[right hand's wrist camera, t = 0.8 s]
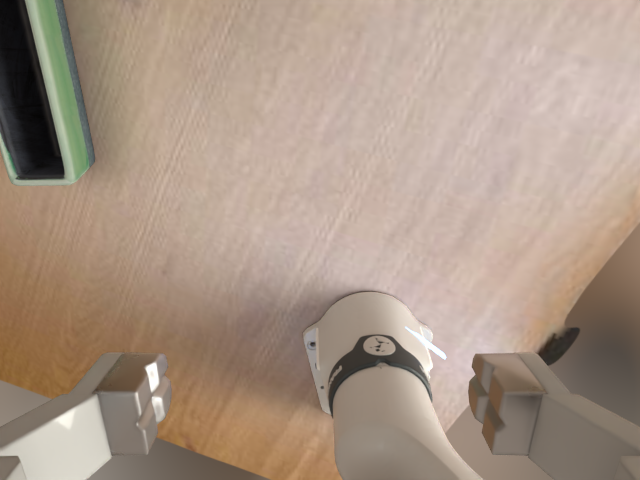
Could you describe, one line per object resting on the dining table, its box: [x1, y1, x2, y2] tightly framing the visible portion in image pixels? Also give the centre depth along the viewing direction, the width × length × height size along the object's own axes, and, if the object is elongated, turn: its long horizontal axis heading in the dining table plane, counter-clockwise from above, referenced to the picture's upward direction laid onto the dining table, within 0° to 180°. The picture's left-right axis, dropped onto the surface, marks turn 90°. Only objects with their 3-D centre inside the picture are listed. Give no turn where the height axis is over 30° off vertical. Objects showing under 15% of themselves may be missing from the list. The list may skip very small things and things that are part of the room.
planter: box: [0, 0, 95, 186], centre depth 42 cm, size 28×7×7 cm, turn 1°
